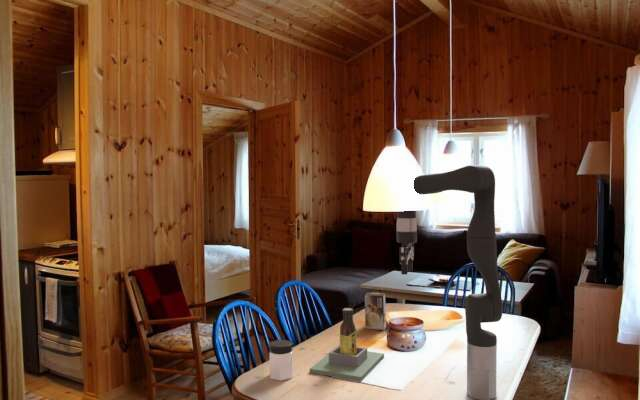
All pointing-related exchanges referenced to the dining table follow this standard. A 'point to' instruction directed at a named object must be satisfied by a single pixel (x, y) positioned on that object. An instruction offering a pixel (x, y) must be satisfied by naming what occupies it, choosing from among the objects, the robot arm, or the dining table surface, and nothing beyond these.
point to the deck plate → (347, 364)
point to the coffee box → (375, 311)
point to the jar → (280, 360)
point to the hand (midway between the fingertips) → (407, 272)
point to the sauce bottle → (348, 333)
